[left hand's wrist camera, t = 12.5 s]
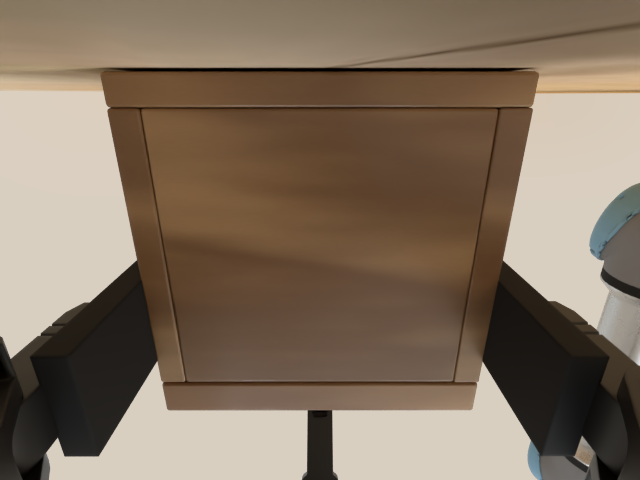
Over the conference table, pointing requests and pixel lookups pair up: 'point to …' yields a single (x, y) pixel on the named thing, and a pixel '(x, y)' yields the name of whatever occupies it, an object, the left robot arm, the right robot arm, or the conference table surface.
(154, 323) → the chest
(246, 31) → the conference table surface
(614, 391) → the left robot arm
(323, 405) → the lid
